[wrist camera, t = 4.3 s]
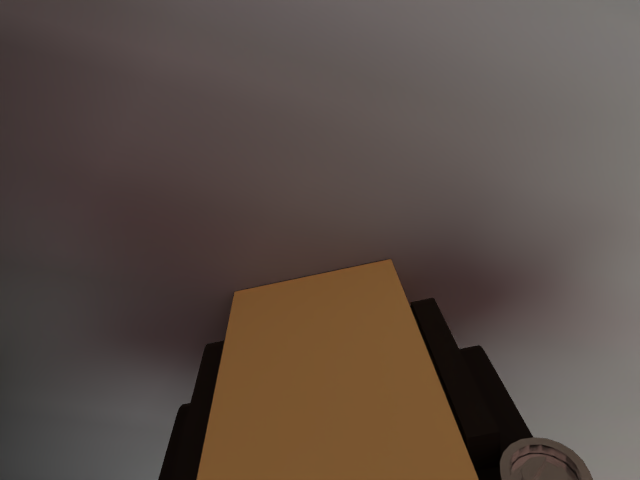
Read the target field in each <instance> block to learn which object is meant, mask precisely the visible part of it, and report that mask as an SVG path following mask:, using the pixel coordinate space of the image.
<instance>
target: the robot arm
mask: <svg viewBox="0 0 640 480" xmlns="http://www.w3.org/2000/svg"><path fill="white" fill-rule="evenodd" d="M411 311H412V313H413V316H414V318H415V321H416V323H417V326H418V328H419V331H420V333H421V336H422V338H423V341H424V343H425V346H426V348H427V351H428V353H429V356H430V358H431V361H432V363H433V366H434V368H435V371H436V373H437V376H438V378H439V381H440V383H441V386H442V388H443V391H444V393H445V396H446V398H447V401H448V403H449V406H450V409H451V411H452V414H453V416H454V419H455V421H456V424H457V426H458V429H459V431H460V434H461V436H462V439H463V441H464V444H465V446H466V449H467V451H468V454H469V456H470V459H471V461H472V464H473V466H474V469H475V471H476V474H477V476H478V479H479V480H593V478H592V476H591V473H590V471H589V470H588V468H587V466H586V465H585V463H584V461H583V460H582V459H581V458H580V457H579V456H578V455H577V454H576V453H575V452H574V451H573V450H571V449H569V448H568V447H566V446H564V445H563V444H561V443H559V442H556V441H553V440H549V439H546V438H535V437H533V436H532V434H531V433H530V431H529V429H528V427H527V426H526V424H525V422H524V420H523V419H522V417H521V415H520V413H519V411H518V410H517V408H516V406H515V404H514V403H513V401H512V399H511V397H510V395H509V394H508V392H507V390H506V388H505V387H504V385H503V383H502V381H501V379H500V378H499V376H498V374H497V372H496V371H495V369H494V367H493V365H492V364H491V362H490V360H489V358H488V356H487V355H486V353H485V351H484V350H483V348H482V347H481V346H479V345H478V346H473V347H468V348H463V349H459V348H458V346H457V344H456V342H455V340H454V338H453V336H452V334H451V332H450V330H449V328H448V326H447V324H446V322H445V320H444V318H443V316H442V314H441V312H440V310H439V308H438V306H437V304H436V301H435V300H434V298H430V299H425V300H420V301H415V302H411ZM224 342H225V341H220V342H215V343H210V344H207V345H206V346H205V349H204V353H203V357H202V361H201V364H200V368H199V372H198V376H197V380H196V384H195V388H194V392H193V396H192V399H191V403H188V404H183V405H182V406H181V407H180V408H179V410H178V413H177V416H176V419H175V423H174V426H173V430H172V433H171V437H170V441H169V444H168V448H167V451H166V455H165V458H164V462H163V465H162V469H161V472H160V476H159V479H158V480H197V475H198V470H199V465H200V460H201V455H202V450H203V446H204V441H205V436H206V431H207V426H208V421H209V416H210V411H211V406H212V401H213V396H214V391H215V386H216V381H217V376H218V371H219V367H220V362H221V357H222V352H223V347H224Z"/></svg>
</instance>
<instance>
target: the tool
mask: <svg viewBox="0 0 640 480" xmlns="http://www.w3.org/2000/svg"><path fill="white" fill-rule="evenodd" d="M197 480H479V479H478V476H477V474H476V471H475V469H474V466H473V464H472V461H471V459H470V456H469V454H468V451H467V449H466V446H465V444H464V441H463V439H462V436H461V434H460V431H459V429H458V426H457V424H456V421H455V419H454V416H453V414H452V411H451V409H450V406H449V403H448V401H447V398H446V396H445V393H444V391H443V388H442V386H441V383H440V381H439V378H438V376H437V373H436V371H435V368H434V366H433V363H432V361H431V358H430V356H429V353H428V351H427V348H426V346H425V343H424V341H423V338H422V336H421V333H420V331H419V328H418V326H417V323H416V321H415V318H414V316H413V313H412V311H411V308H410V305H409V303H408V300H407V298H406V295H405V293H404V290H403V288H402V285H401V283H400V280H399V278H398V275H397V273H396V270H395V268H394V265H393V263H392V260H391V259H388V260H384V261H379V262H374V263H369V264H365V265H360V266H355V267H350V268H345V269H341V270H336V271H331V272H326V273H322V274H317V275H312V276H307V277H302V278H298V279H293V280H288V281H283V282H279V283H274V284H269V285H264V286H259V287H255V288H250V289H245V290H240V291H236V292H234V297H233V302H232V307H231V312H230V317H229V322H228V327H227V332H226V337H225V342H224V347H223V352H222V357H221V362H220V367H219V371H218V376H217V381H216V386H215V391H214V396H213V401H212V406H211V411H210V416H209V421H208V426H207V431H206V436H205V441H204V446H203V450H202V455H201V460H200V465H199V470H198V475H197Z"/></svg>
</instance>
